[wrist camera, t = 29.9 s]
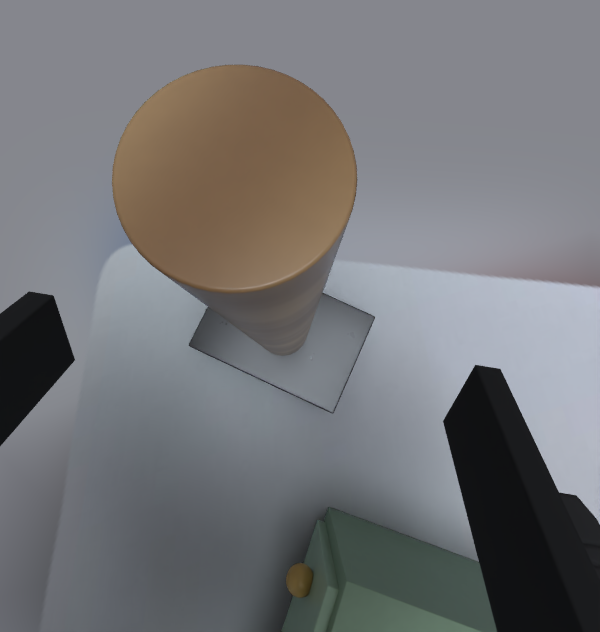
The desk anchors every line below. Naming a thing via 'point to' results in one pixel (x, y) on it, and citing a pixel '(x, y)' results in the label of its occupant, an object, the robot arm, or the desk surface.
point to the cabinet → (383, 583)
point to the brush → (248, 220)
